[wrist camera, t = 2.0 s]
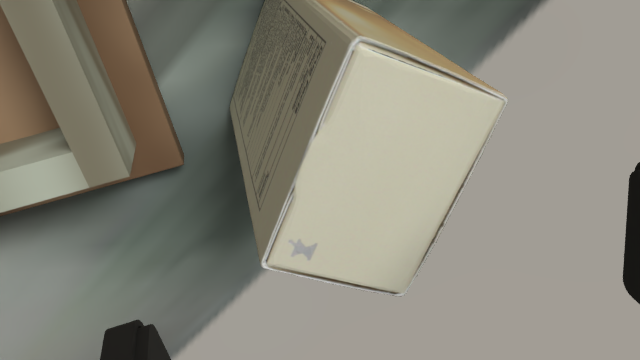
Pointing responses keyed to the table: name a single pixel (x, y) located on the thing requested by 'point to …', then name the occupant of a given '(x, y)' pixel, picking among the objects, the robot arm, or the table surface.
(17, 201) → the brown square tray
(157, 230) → the table surface
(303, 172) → the skincare box
